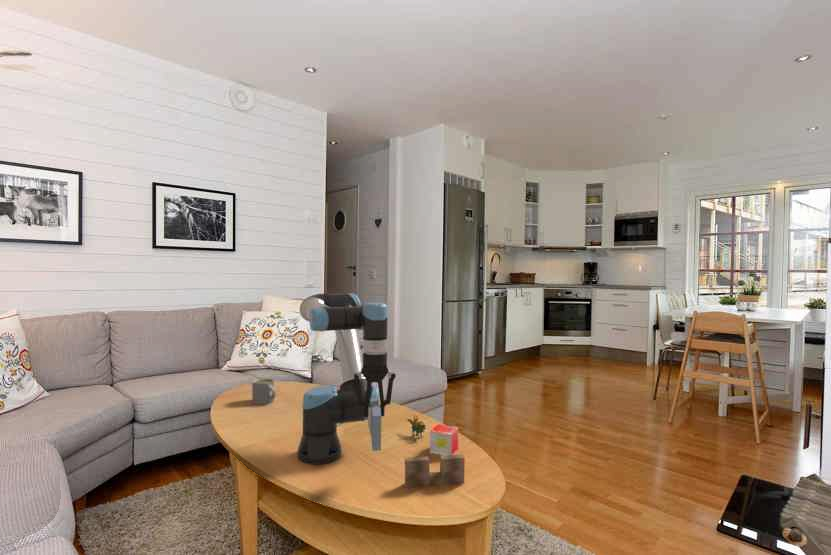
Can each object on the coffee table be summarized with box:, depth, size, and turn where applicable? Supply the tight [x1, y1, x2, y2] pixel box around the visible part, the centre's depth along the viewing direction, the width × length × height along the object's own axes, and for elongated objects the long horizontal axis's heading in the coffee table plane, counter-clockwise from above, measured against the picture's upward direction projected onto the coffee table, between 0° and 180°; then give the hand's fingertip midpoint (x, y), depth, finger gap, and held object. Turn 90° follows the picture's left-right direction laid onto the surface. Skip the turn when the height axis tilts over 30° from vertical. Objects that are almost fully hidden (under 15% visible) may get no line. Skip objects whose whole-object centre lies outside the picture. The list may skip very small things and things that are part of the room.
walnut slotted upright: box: [404, 454, 466, 489], centre depth 134 cm, size 18×2×8 cm, turn 99°
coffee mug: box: [251, 378, 277, 405], centre depth 211 cm, size 13×10×10 cm
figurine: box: [406, 414, 427, 440], centre depth 171 cm, size 3×12×8 cm, turn 37°
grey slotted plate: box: [369, 398, 382, 452], centre depth 133 cm, size 2×16×10 cm, turn 8°
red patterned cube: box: [429, 423, 459, 456], centre depth 157 cm, size 8×8×8 cm
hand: (374, 426), depth 138 cm, fingers closed on grey slotted plate, 2 cm apart
